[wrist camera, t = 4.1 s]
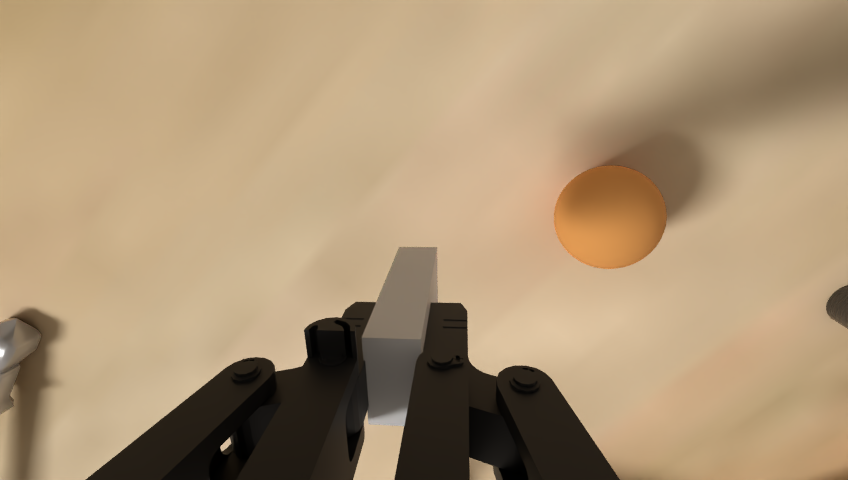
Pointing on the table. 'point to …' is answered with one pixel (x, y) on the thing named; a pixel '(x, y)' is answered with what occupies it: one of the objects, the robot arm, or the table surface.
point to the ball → (610, 217)
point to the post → (839, 306)
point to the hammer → (14, 355)
